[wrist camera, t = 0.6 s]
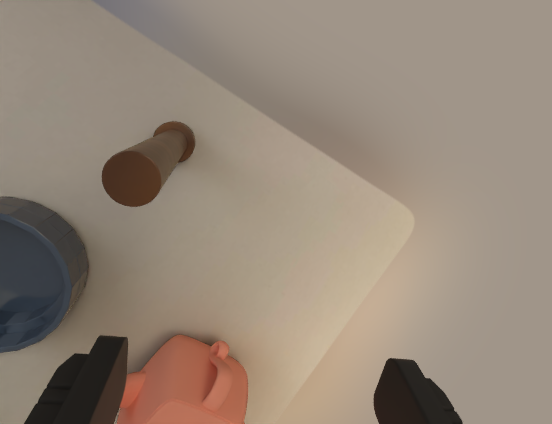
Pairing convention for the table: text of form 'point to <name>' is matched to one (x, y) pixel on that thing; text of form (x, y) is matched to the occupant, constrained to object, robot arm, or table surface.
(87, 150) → the table surface
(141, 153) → the muddler
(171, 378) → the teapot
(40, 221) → the glazed bowl
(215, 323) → the table surface
